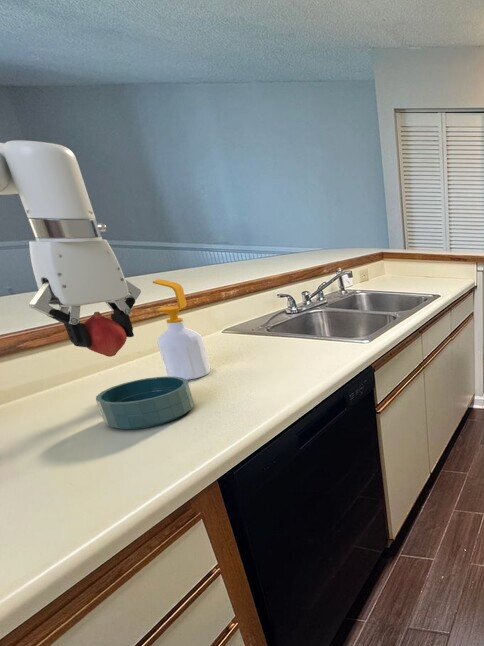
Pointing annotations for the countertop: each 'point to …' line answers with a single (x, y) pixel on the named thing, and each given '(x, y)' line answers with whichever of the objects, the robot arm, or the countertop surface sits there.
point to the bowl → (145, 402)
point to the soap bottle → (181, 342)
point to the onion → (105, 335)
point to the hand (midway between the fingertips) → (105, 340)
